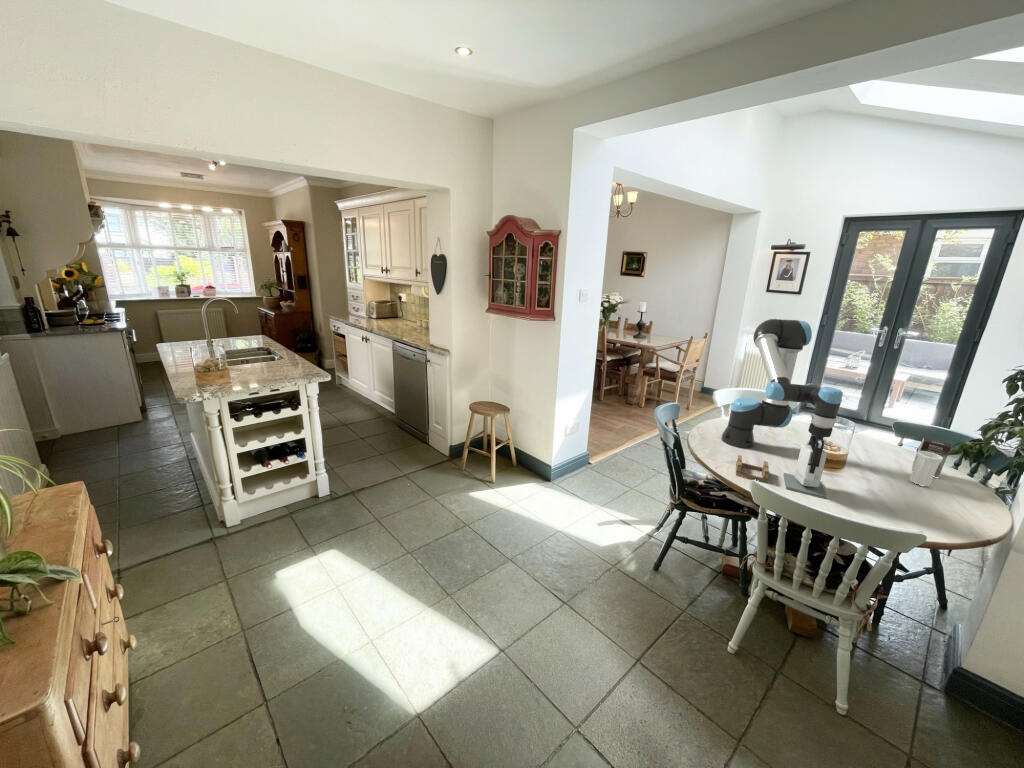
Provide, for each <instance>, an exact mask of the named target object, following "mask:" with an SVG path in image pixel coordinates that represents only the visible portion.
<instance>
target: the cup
mask: <svg viewBox="0 0 1024 768" xmlns="http://www.w3.org/2000/svg"><path fill="white" fill-rule="evenodd" d="M916 455H917V459H916V463H915V466H914V469H913V472H912V471H911V472H912V473H911V476H910V479H909V482H911V481H912V482H914V483H916V484H920V485H924V486H930V485H931V483H932V481H933V479H934V478H933V476H934V474H935V472H936V470H937V468H938V466H939V464H940V462H941V461H942V460H943V457H942V456H940V455H938V454H935V453H932V452H927V451H918V450H917V452H916ZM912 482H911V483H912ZM914 483H913V484H914ZM916 484H915V485H916Z"/></svg>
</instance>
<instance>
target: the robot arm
mask: <svg viewBox="0 0 1024 768" xmlns="http://www.w3.org/2000/svg"><path fill="white" fill-rule="evenodd" d="M811 328H812V327H811V325H810V323H808V322H807V321H805V320H804V321H803V320H798V319H777V318H770V319H766V320H764V321H762V322H761V323H760V324H759V325H758V326H757V327H756V328H755V330H754V332H753V343H754V345H755V347H756V348H757V349H758V351H759V354H760V357H761V361H762V363H763V366H764V370H765V373H766V376H767V379H768V383H767V384H766V386H765V389H764V390H765V397H763V398H762V401H761V402H760V401H759V400H758V399H755V398H751V397H740V398H736V399H735V400H733V402H732V404H731V408H730V409H731V410H730V414H729V418H728V419H729V420H728V422H727V423H728V424H727V426H726V428H725V429H724V431H723V432H722V434H721V441H722V442H724V443H725V444H728V445H729V446H733V447H737V448H742V449H749V448H750V449H751V448H753V447H754V445H755V438H754V437H755V436H754V431H753V430H754V428H755V426H759V427H760V426H761V427H767V428H768V427H769V428H774V429H775V428H785V427H787V426H789V424H790V423H791V420H792V419H793V408H792V407H791V405H790V403H789V402H792V403H801V404H811V405H812V406H814V409H813V413H812V415H810V418H811V421H810V424H809V427H808V432H809V433H810V438H809V441H808V444H807V445H810V446H811V448H812V451H813V453H812V456H811V461H810V464H809V463H808V465H809V466H808V469H807V473H806V476H805V479H808V480H812V481H813V479H814V476H815V472H816V469H817V467H819V463H820V459H821V455H822V450H824V447H825V440H824V438H829V437H831V436H832V432H833V430H834V429H833V428H834V427H835V423H836V420H837V416H838V413H839V410H840V407H841V403H842V401H843V400H842V398H843V396H844V395H843V394H844V392H843V391H842V390H841V389H838V388H835V387H832V386H831V387H830V386H822V387H821V386H820V385H818V384H815V383H805V384H798V383H797V384H796V383H792V379H793V374H794V370H795V366H796V362H797V359H798V358H797V357H798V353H799V352H801V351H803V348H804V347H805V346H807V345H810V342H811V340H812V337H813V333H812V329H811ZM815 463H816V464H815Z"/></svg>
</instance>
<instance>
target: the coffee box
mask: <svg viewBox="0 0 1024 768" xmlns="http://www.w3.org/2000/svg"><path fill="white" fill-rule="evenodd" d="M951 449H952V445H951V443H948V442H945V441H940V440H937V439H934V438H929V437H923V438H922V441H921V443H920V445H919V447H918V450H917V452H918V451H927V452H932V453H935V454H938V455H940V456H942V457H943V460H942V461H941V462H940V464H939V466H938V468H937V470H936V472H935V474H934V476H935V477H939V478H940V475H941V473H942V470H943V467H944V465H945V463H946V460H947V458H948V455H949V453H950V451H951ZM916 459H917V454H916V456H915V458H914V460H913V463H912V465H911V467H912V470H911V472H912V471H913V469H914V466H915V463H916Z"/></svg>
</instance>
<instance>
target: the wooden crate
mask: <svg viewBox="0 0 1024 768" xmlns="http://www.w3.org/2000/svg"><path fill="white" fill-rule="evenodd" d="M742 468H746V469H751V470H755V471H758V472H761V476H757V475H754V474H751V473H746V472H743V471H742ZM735 474H736V475H735V476H737V475H738V477H741V476H743V477H742V478H745V477H747V478H746V479H749V478H750V480H753V479H756V480H755V481H757V480H759V481H758V482H762V483H765V484H767V483H768V479H769V476H770V475H769V474H770V467H769V461H766V460H764V461H763V464H762V466H757V465H753V464H750V463H745V462H743V456H742V455H740V454H738V455H737V458H736V463H735Z"/></svg>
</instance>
